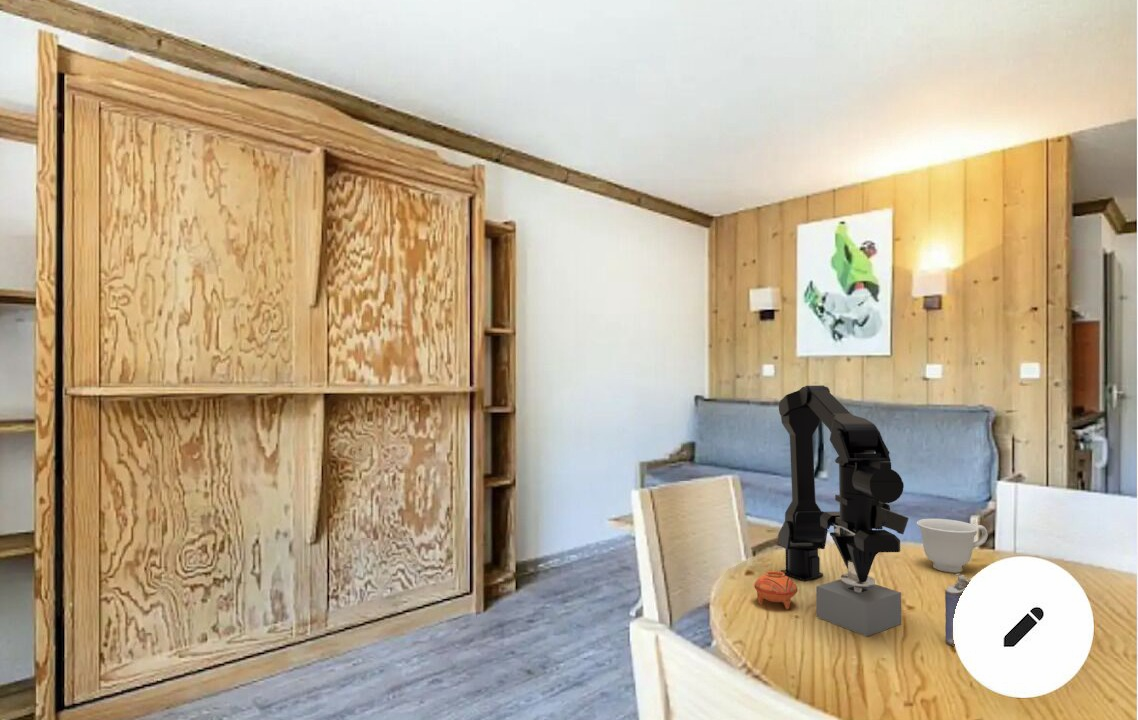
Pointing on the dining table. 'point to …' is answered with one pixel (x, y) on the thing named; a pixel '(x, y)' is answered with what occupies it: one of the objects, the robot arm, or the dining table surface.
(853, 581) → the plunger
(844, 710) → the dining table surface
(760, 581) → the pot
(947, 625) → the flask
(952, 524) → the teacup
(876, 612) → the box
